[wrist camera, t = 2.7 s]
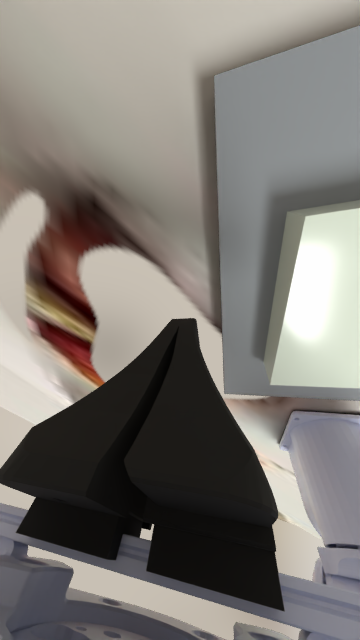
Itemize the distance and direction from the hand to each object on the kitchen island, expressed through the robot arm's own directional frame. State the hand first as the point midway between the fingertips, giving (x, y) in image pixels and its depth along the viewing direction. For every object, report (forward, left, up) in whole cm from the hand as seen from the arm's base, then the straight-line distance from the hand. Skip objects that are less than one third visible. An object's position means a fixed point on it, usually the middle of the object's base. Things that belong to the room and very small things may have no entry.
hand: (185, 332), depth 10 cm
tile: (0, -8, -2) cm, 8 cm away
